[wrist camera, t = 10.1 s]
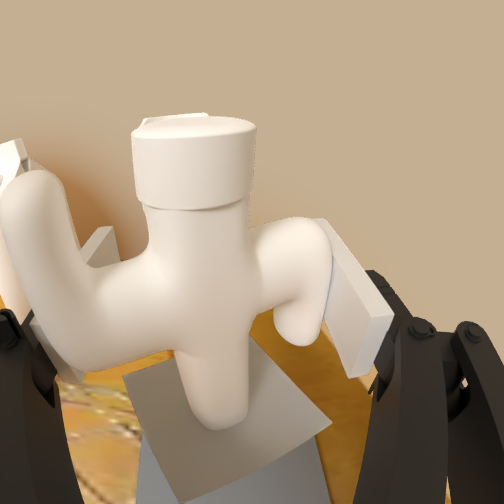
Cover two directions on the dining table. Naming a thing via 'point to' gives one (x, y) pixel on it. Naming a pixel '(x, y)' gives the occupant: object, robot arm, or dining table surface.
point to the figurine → (184, 300)
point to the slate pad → (246, 481)
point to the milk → (3, 272)
